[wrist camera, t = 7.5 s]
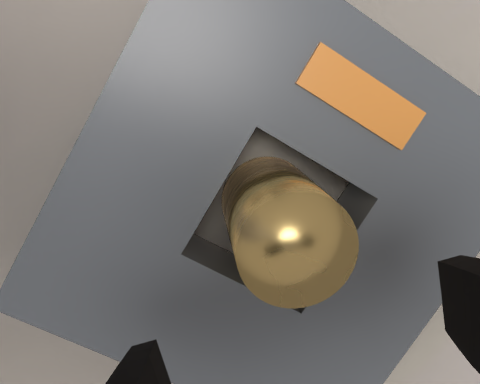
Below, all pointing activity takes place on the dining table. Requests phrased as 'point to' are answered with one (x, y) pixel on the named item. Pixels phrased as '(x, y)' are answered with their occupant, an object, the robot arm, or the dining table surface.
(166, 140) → the hole board
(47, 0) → the dining table surface
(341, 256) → the brass peg
